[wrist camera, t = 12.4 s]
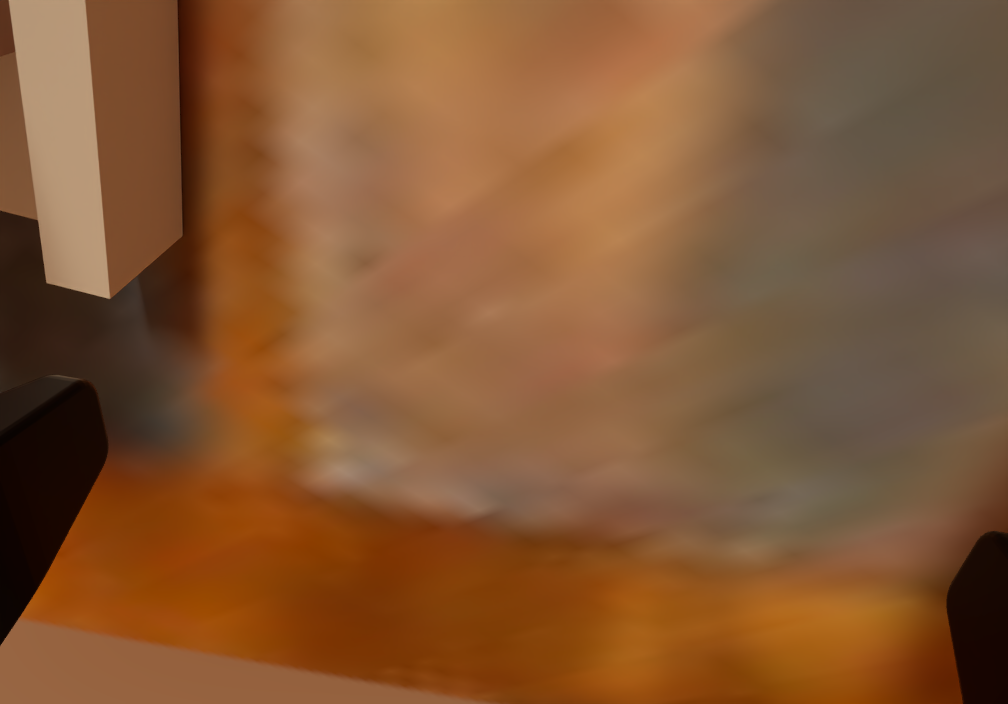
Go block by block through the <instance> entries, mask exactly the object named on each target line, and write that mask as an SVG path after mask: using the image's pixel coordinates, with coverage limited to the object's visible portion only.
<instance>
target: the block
mask: <svg viewBox="0 0 1008 704" xmlns="http://www.w3.org/2000/svg"><path fill="white" fill-rule="evenodd" d="M13 52H16V51H15V44H14V36H13V29H12V21H11V14H10V6H9V0H0V57H1V56H4V55H7V54H10V53H13Z"/></svg>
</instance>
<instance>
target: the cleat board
mask: <svg viewBox="0 0 1008 704" xmlns="http://www.w3.org/2000/svg"><path fill="white" fill-rule="evenodd" d="M9 6H10V14H11V21H12V29H13V36H14V44H15V51H16V52H13V53H10V54H7V55H4V56H1V57H0V211H4V212H8V213H12V214H16V215H19V216H23V217H27V218H31V219H35V220H38V223H39V231H40V238H41V246H42V253H43V261H44V268H45V276H46V283H49V284H53V285H57V286H61V287H65V288H69V289H73V290H76V291H80V292H84V293H88V294H92V295H96V296H100V297H104V298H108V299H111V298H112V297H113V296H114V295H115V294H116V293H118V292H119V291H120V290H121V289H122V288H123V287H124V286H126V285H127V284H128V283H129V282H130V281H131V280H132V279H134V278H135V277H136V276H137V275H138V274H139V273H141V272H142V271H143V270H144V269H145V268H146V267H147V266H149V265H150V264H151V263H152V262H153V261H154V260H156V259H157V258H158V257H159V256H160V255H161V254H162V253H164V252H165V251H166V250H167V249H168V248H169V247H171V246H172V245H173V244H174V243H175V242H176V241H177V240H179V239H180V238H181V237H182V236H183V225H182V180H181V135H180V90H179V45H178V0H9Z"/></svg>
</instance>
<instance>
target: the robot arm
mask: <svg viewBox="0 0 1008 704" xmlns="http://www.w3.org/2000/svg"><path fill="white" fill-rule="evenodd" d="M107 454H108V437H107V433H106V428H105V424H104V419H103V415H102V411H101V406H100V402H99V397H98V393H97V390H96V388H95V387H94V385H93V384H92V383H91V382H89V381H87V380H84V379H79V378H73V377H67V376H61V375H48V376H44V377H42V378H39V379H36V380H34V381H31V382H29V383H26V384H24V385H21V386H18V387H16V388H13V389H11V390H8V391H5V392H3V393H0V645H1V644H2V642H3V641H4V639H5V638H6V636H7V635H8V634H9V632H10V631H11V629H12V628H13V626H14V625H15V623H16V622H17V620H18V619H19V617H20V616H21V614H22V613H23V611H24V610H25V608H26V606H27V605H28V603H29V602H30V600H31V599H32V597H33V595H34V594H35V592H36V591H37V589H38V587H39V586H40V584H41V582H42V580H43V579H44V577H45V575H46V573H47V572H48V570H49V568H50V566H51V564H52V562H53V561H54V559H55V557H56V555H57V553H58V551H59V549H60V547H61V545H62V544H63V542H64V540H65V538H66V536H67V534H68V532H69V530H70V528H71V527H72V525H73V523H74V521H75V519H76V517H77V515H78V513H79V511H80V510H81V508H82V506H83V504H84V502H85V500H86V498H87V496H88V494H89V493H90V491H91V489H92V487H93V485H94V483H95V481H96V479H97V477H98V476H99V474H100V472H101V470H102V468H103V466H104V464H105V461H106V458H107ZM947 615H948V621H949V626H950V632H951V638H952V643H953V649H954V655H955V660H956V666H957V672H958V677H959V683H960V689H961V694H962V700H963V704H1008V533H1004V532H998V531H992V532H987V533H985V534H984V535H982V536H981V537H980V538H979V539H978V541H977V542H976V544H975V545H974V547H973V549H972V550H971V552H970V553H969V555H968V557H967V558H966V560H965V562H964V563H963V565H962V567H961V568H960V570H959V571H958V573H957V575H956V576H955V578H954V580H953V581H952V583H951V585H950V587H949V590H948V594H947Z"/></svg>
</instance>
